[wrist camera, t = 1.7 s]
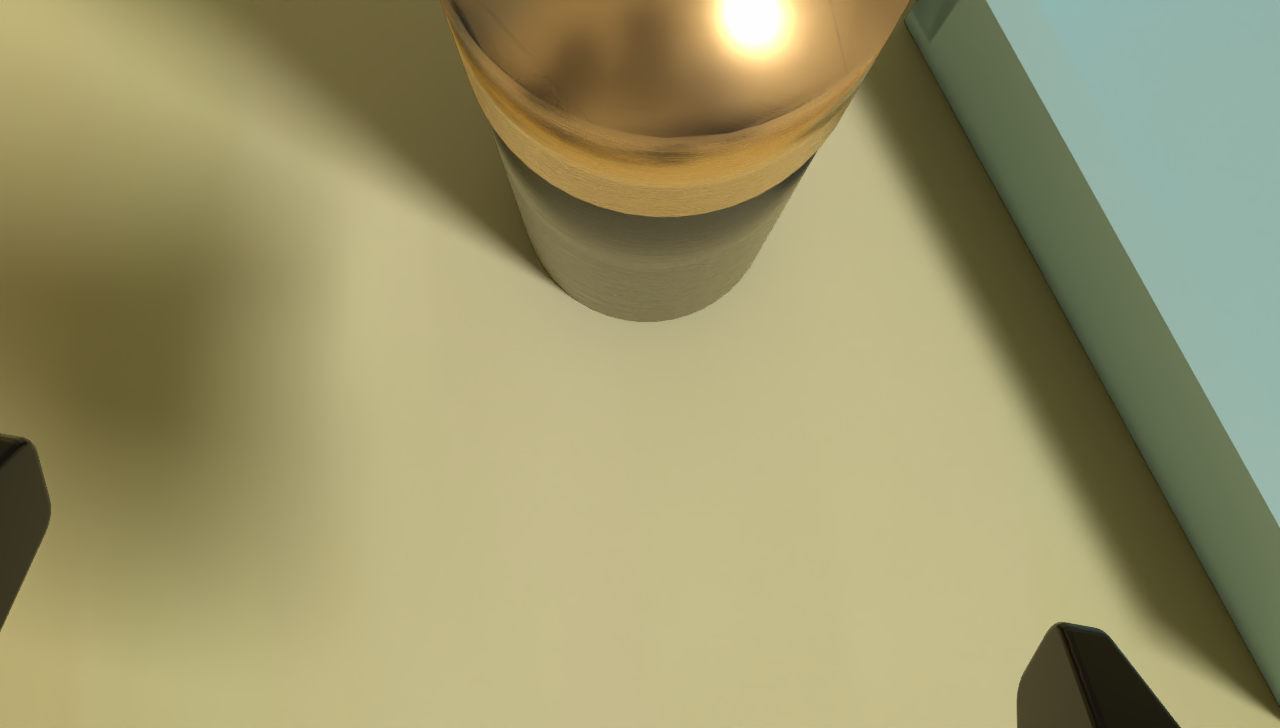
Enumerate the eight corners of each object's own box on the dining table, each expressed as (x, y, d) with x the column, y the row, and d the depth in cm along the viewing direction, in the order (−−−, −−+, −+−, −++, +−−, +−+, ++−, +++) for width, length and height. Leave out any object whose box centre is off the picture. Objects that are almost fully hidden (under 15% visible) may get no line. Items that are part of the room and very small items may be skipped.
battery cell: (815, 255, 23) (1061, -43, 10) (589, 367, 23) (552, 205, 10) (700, 38, 24) (799, -507, 11) (478, 145, 23) (303, -285, 10)
